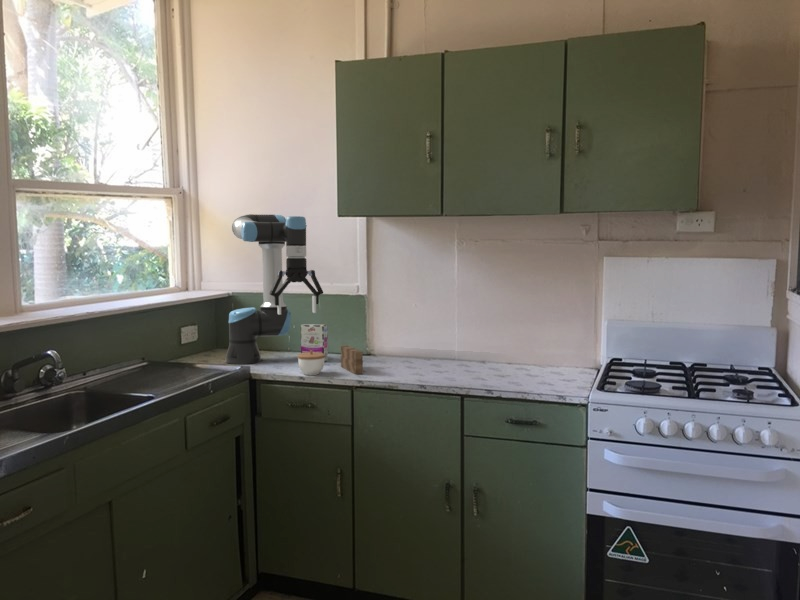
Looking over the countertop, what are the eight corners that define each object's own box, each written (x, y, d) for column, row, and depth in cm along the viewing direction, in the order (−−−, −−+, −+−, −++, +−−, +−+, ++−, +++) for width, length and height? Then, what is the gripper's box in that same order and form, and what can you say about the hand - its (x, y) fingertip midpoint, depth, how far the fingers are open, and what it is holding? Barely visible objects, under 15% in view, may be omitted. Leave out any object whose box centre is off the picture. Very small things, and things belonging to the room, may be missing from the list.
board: (341, 366, 274) (340, 345, 273) (347, 366, 275) (347, 345, 275) (355, 374, 258) (355, 352, 257) (362, 374, 259) (362, 351, 258)
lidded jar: (304, 370, 266) (304, 347, 266) (329, 371, 263) (328, 349, 263) (293, 375, 256) (293, 352, 255) (318, 377, 253) (318, 353, 252)
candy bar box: (328, 360, 288) (328, 324, 287) (323, 362, 284) (323, 325, 282) (305, 359, 292) (305, 323, 290) (300, 361, 287) (300, 324, 285)
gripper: (265, 258, 236) (266, 315, 238) (331, 257, 247) (331, 313, 249) (261, 257, 243) (262, 313, 245) (324, 257, 253) (325, 311, 255)
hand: (297, 313), depth 247 cm, fingers open, 13 cm apart
